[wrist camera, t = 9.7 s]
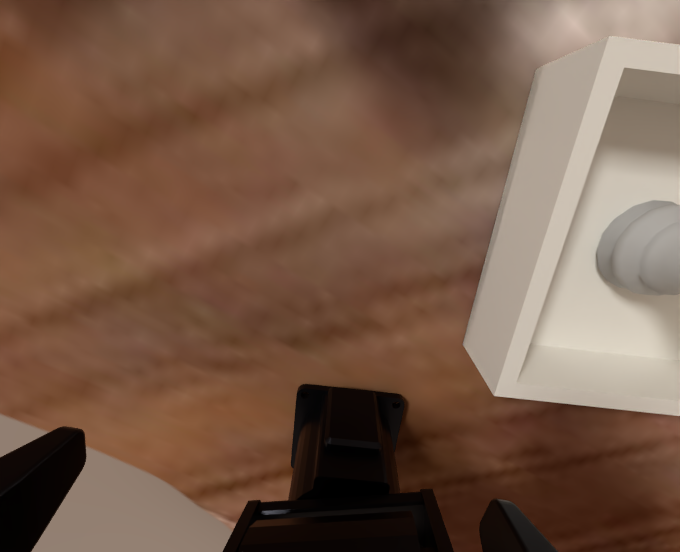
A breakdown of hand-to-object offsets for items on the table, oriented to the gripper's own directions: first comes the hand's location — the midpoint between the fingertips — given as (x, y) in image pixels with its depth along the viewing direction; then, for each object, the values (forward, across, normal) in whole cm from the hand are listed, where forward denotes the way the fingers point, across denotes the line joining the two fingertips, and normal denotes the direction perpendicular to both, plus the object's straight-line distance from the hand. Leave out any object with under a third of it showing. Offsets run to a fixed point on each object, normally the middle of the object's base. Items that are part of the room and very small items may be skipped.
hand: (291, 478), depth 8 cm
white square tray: (+12, -15, -5) cm, 20 cm away
